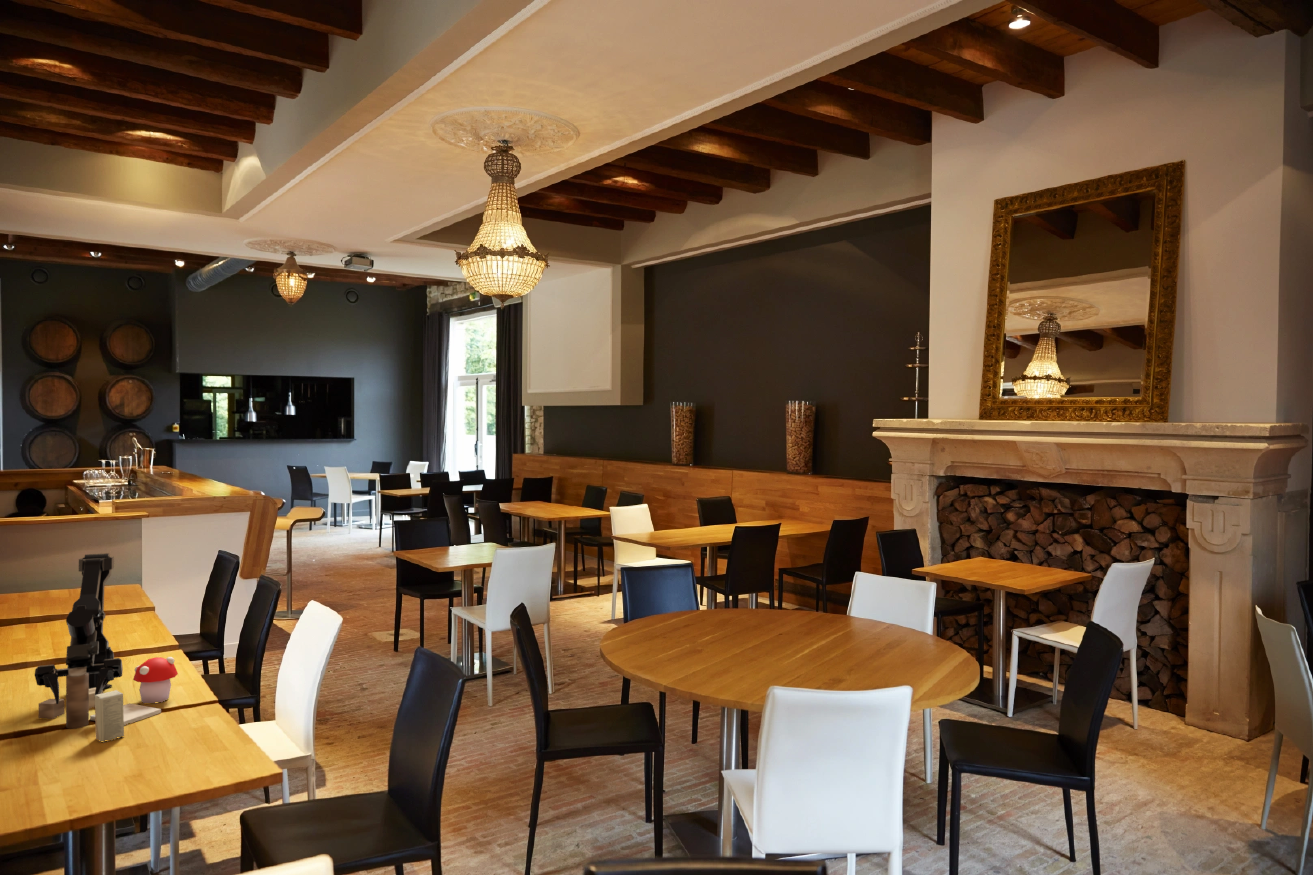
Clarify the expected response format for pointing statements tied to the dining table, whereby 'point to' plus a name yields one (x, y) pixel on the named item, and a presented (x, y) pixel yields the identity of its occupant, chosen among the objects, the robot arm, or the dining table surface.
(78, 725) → the pepper mill
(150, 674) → the mushroom
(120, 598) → the dining table surface
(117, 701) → the box
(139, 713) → the plate
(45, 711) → the walnut block
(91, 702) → the oak block
